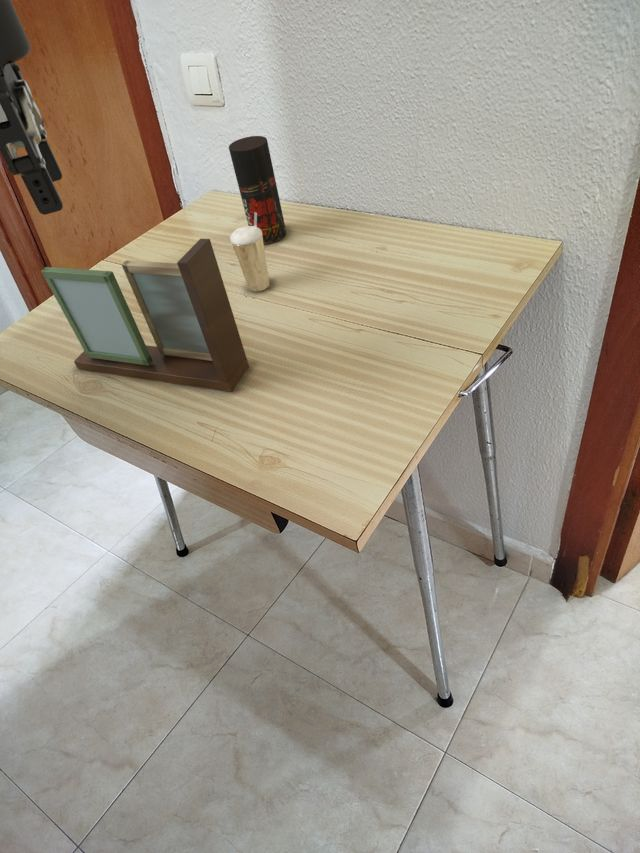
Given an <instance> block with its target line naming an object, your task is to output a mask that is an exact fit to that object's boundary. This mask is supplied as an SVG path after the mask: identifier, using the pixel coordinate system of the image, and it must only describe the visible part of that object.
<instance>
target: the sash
mask: <svg viewBox="0 0 640 853" xmlns="http://www.w3.org/2000/svg"><path fill="white" fill-rule="evenodd" d="M40 272H41V274H42V276H43V278H44V279H45V281H46V283H47V285H48V287H49V289H50V290H51V292H52V294H53V296H54V298H55V300H56V302H57V304H58V305H59V307H60V309H61V311H62V312H63V314H64V317H65V318H66V320H67V322H68V324H69V325H70V328H71V330H72V331H73V333H74V334H75V337H76V338H77V340H78V342H79V344H80V346H81V347H82V349H83V352H84V351H85V353H86V355H87V357H89V358H96V359H103V360H111V361H118V362H125V363H133V364H140V365H147V366H149V365H150V364H151V363H152V362H153V360H152V358H151V356H150V354H149V351H148V349H147V347H146V345H147V344H146V342H145V340H144V338H143V336H142V334H141V331H140V329H139V327H138V325H137V323H136V321H135V318H134V317H133V313H132V311H131V309H130V307H129V305H128V302H127V300H126V298H125V296H124V294H123V292H122V289H121V287H120V285H119V283H118V280H117V278H116V276H115V274H114V271H112V270H100V269H99V270H97V269H83V268H69V267H68V268H67V267H55V266H53V267H52V266H45V267H44V268H43V269H41V271H40Z"/></svg>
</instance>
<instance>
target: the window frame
mask: <svg viewBox="0 0 640 853" xmlns="http://www.w3.org/2000/svg"><path fill="white" fill-rule="evenodd" d="M121 267H122V270H123V272H124V274H125V276H126V278H127V281H128V284H129V285H130V288H131V290H132V294H134V297H135V299H136V302H137V304H138V306H139V308H140V311H141V313H142V315H143V318H144V320H145V322H146V325H147V327H148V329H149V331H150V334H151V336H152V338H153V340H154V343H155V345H156V346H155V345H147V344H145V345H146V347H147V349H148V351H149V354H150V356H151V358H152V360H153V362H152V363H151V364H150V365H149V366H147V365H140V364H133V363H125V362H118V361H111V360H103V359H96V358H89V357H87V355H86V353H85V351H84V350H83V351H82V352H81V354H80V355H79V356H77V357H76V358H75V360H74V361H73V363H74V365H75V367H76V368H77V370H81V371H87V372H92V373H93V372H94V373H99V374H107V375H115V376H122V377H127V378H133V379H140V380H148V381H155V382H161V383H162V382H163V383H167V384H175V385H182V386H189V387H195V388H203V389H208V390H209V389H210V390H217V391H223V392H230V393H231V392H233V390H234V389H235V387H236V386H237V384H238V383H239V381H240V380H241V378H242V377H243V376H244V374H245V373H246V371H248V368H250V365H249V361H248V359H247V355H246V352H245V348H244V344H243V342H242V339H241V335H240V331H239V329H238V325H237V322H236V319H235V316H234V312H233V309H232V306H231V303H230V299H229V296H228V293H227V290H226V287H225V284H224V280H223V276H222V274H221V271H220V267H219V264H218V260H217V258H216V254H215V250H214V248H213V244H212V241H211V239H210V238H199V239H198V240H197V242H195V243H194V245H192V247H191V248H190V249H189V250H188V251H186V253H185V254H184V255H183V256H181V258H180V259H179V260H178V261H177V262H175V263H174V262H160V261H142V260H125V261H124V262H123V263H122V264H121Z"/></svg>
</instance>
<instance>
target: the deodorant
mask: <svg viewBox="0 0 640 853" xmlns="http://www.w3.org/2000/svg"><path fill="white" fill-rule="evenodd" d="M228 151H229V155H230V159H231V162H232V167H233V170H234V174H235V178H236V184H237V186H238V190H239V194H240V198H241V201H242V206H243V209H244V213H245V217H246V221H247V226H254V213H257V228H259V229H261V231H262V235H263V243H264V245H271V244H274V243H277V242H280V241H281V240H283V239H284V238H285V237H286V236H287V228H286V224H285V218H284V214H283V209H282V205H281V200H280V196H279V191H278V185H277V181H276V175H275V171H274V166H273V162H272V157H271V152H270V148H269V143H268V139H267V137H265V136H264V135H263V136H262V135H250V136H246V137H241V138H239V139H237V140H234V141H233V142H231V143H230V144H229V146H228Z"/></svg>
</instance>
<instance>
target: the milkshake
mask: <svg viewBox="0 0 640 853" xmlns="http://www.w3.org/2000/svg"><path fill="white" fill-rule="evenodd" d="M229 240H230V243H231V246H232V248H233V250H234V253H235V255H236V258H237V261H238V263H239V266H240V269H241V271H242V274H243V278H244V280H245V282H246V285H247V288H248V290H249V291H251V292H254V293H255V292H263V291H265V290H267V289H268V288H269V287H270V277H269V271H268V264H267V259H266V251H265V244H264V243H263V235H262V231H261V229H259V228H257V213H254V226H248V225H244V226H240V227H238V228H236V229H235V230H233V232H232V233H231V234H230V237H229Z"/></svg>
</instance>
